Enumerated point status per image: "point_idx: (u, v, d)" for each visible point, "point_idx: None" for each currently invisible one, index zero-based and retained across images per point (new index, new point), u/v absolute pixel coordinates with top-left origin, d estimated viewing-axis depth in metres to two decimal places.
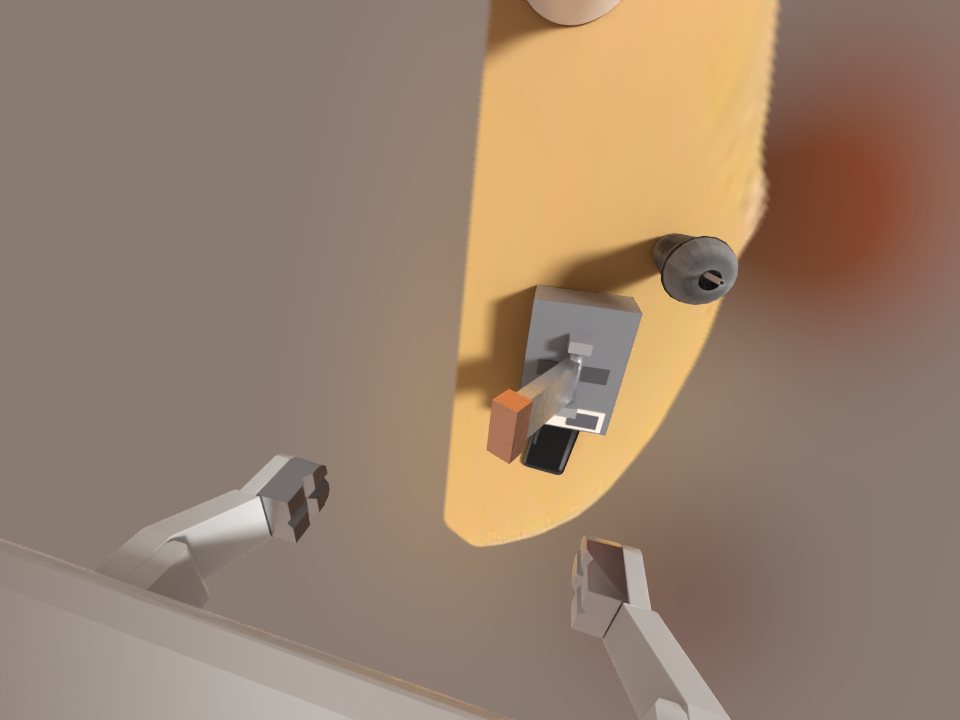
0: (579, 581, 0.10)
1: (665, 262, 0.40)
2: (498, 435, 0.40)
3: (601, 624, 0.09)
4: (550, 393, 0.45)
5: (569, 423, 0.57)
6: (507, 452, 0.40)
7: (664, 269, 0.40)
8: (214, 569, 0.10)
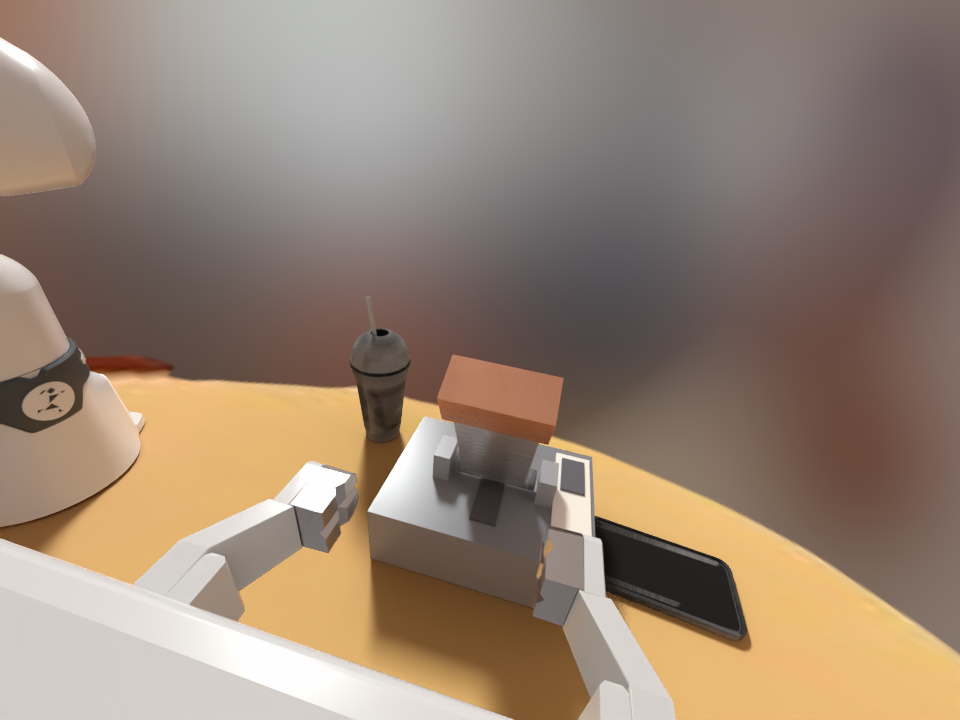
0: None
1: (362, 372, 0.43)
2: (510, 393, 0.22)
3: (560, 611, 0.09)
4: None
5: (581, 490, 0.37)
6: (539, 379, 0.22)
7: (368, 371, 0.43)
8: (247, 580, 0.10)
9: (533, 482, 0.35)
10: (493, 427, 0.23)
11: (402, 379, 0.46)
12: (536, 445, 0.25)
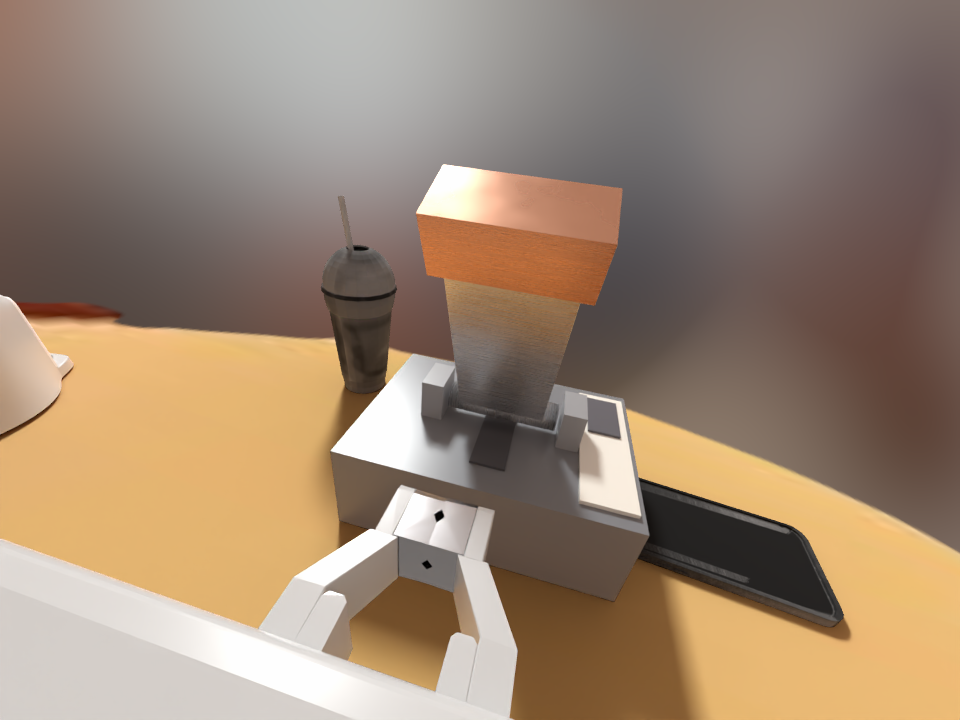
0: None
1: (335, 295, 0.34)
2: (536, 206, 0.13)
3: (448, 577, 0.10)
4: None
5: (615, 431, 0.28)
6: (583, 189, 0.14)
7: (342, 294, 0.34)
8: (351, 614, 0.09)
9: (554, 417, 0.26)
10: (507, 277, 0.15)
11: (386, 309, 0.37)
12: (570, 325, 0.17)
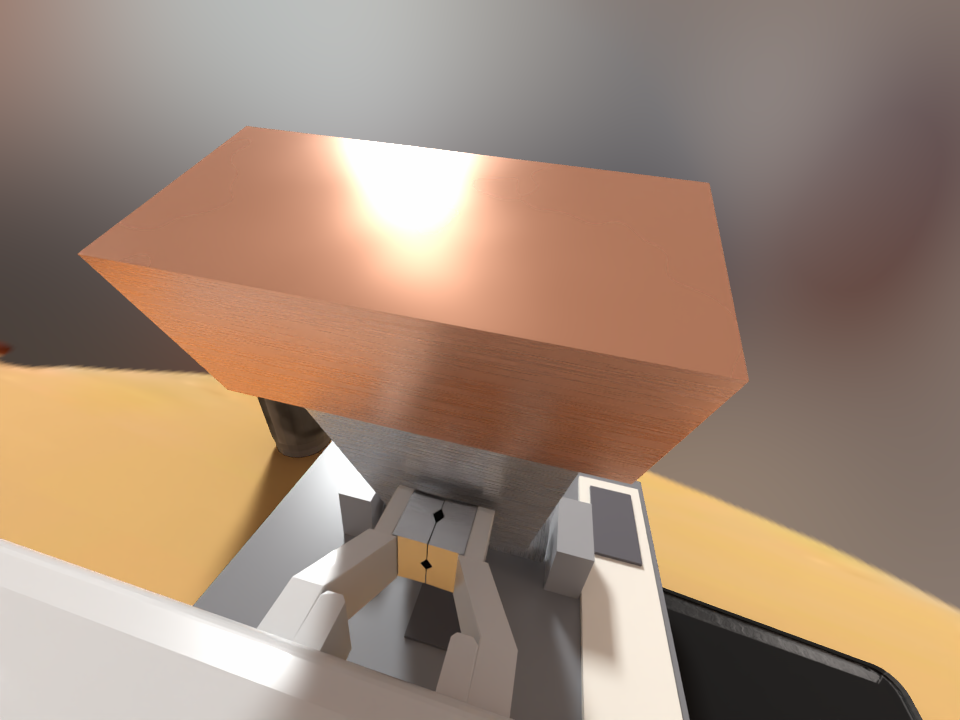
0: None
1: None
2: (464, 233, 0.04)
3: (448, 577, 0.10)
4: None
5: (633, 553, 0.19)
6: (601, 185, 0.05)
7: None
8: (350, 614, 0.09)
9: (542, 546, 0.17)
10: (404, 414, 0.06)
11: None
12: (568, 480, 0.08)
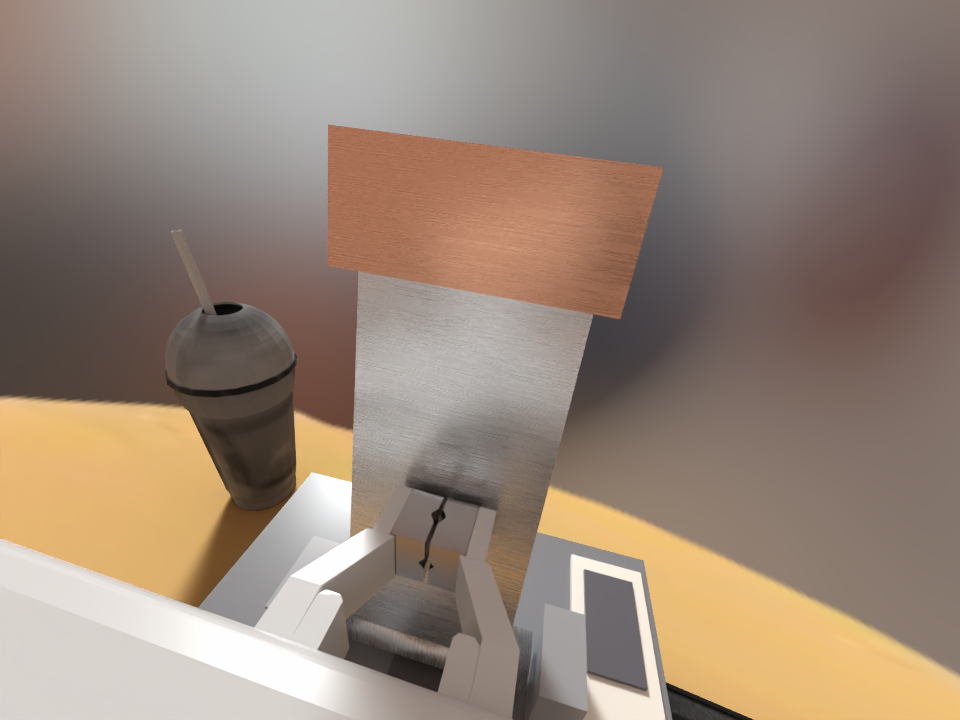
0: None
1: (179, 388, 0.21)
2: None
3: (449, 578, 0.10)
4: None
5: (636, 673, 0.15)
6: None
7: (188, 386, 0.21)
8: (348, 613, 0.09)
9: (525, 658, 0.14)
10: (468, 261, 0.08)
11: (275, 399, 0.24)
12: (569, 391, 0.09)
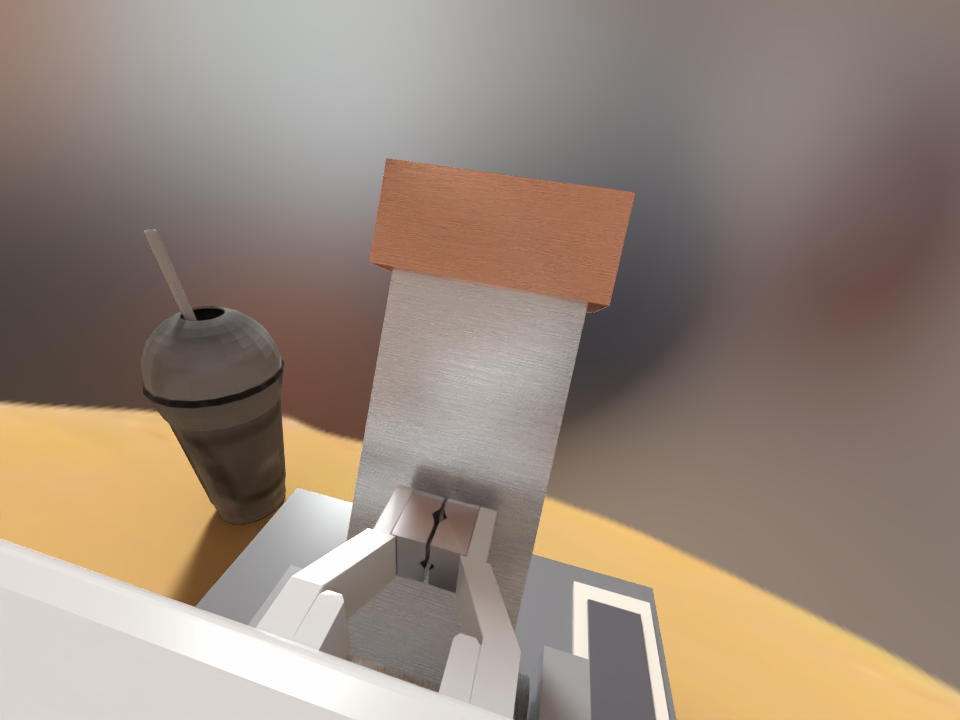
0: None
1: (155, 398, 0.20)
2: None
3: (450, 578, 0.10)
4: None
5: None
6: None
7: (165, 396, 0.20)
8: (349, 614, 0.09)
9: (523, 700, 0.12)
10: (486, 259, 0.10)
11: (260, 409, 0.23)
12: (568, 377, 0.11)
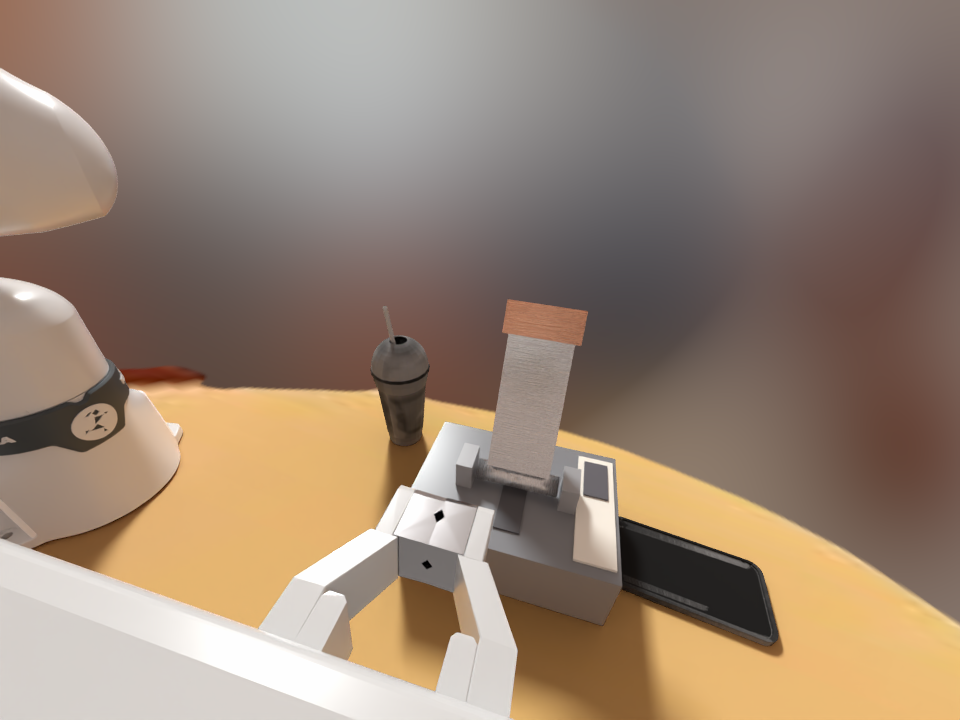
0: None
1: (383, 381, 0.44)
2: None
3: (448, 577, 0.10)
4: None
5: (604, 495, 0.36)
6: None
7: (388, 379, 0.43)
8: (351, 614, 0.09)
9: (557, 480, 0.35)
10: (541, 331, 0.33)
11: (422, 385, 0.46)
12: (569, 367, 0.33)
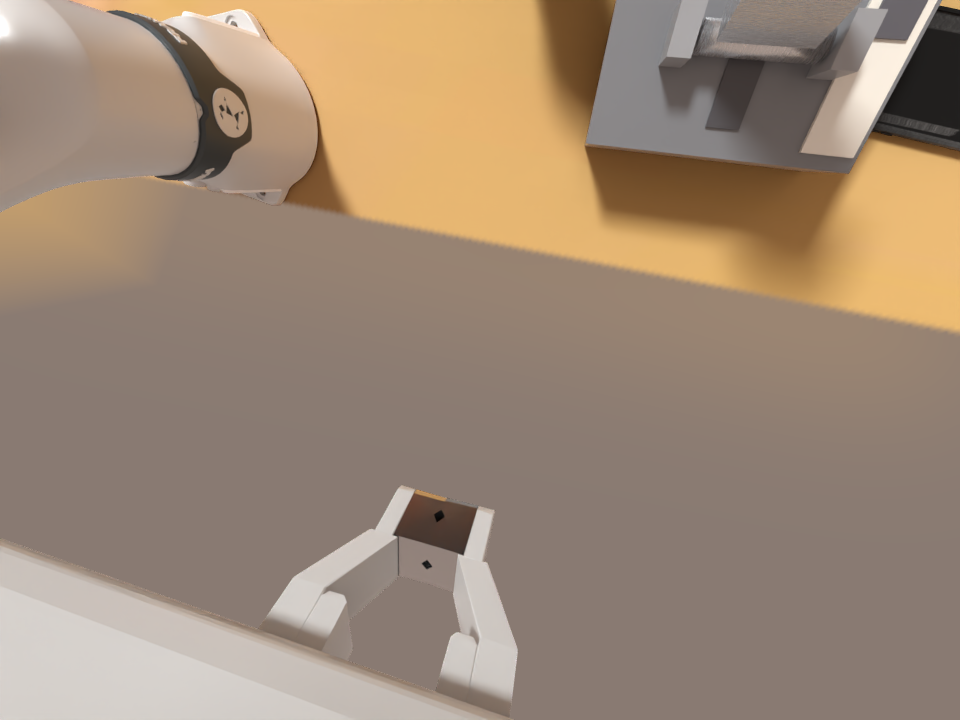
0: None
1: None
2: None
3: (448, 578, 0.10)
4: None
5: (905, 30, 0.24)
6: None
7: None
8: (351, 615, 0.09)
9: (830, 42, 0.24)
10: None
11: None
12: None
